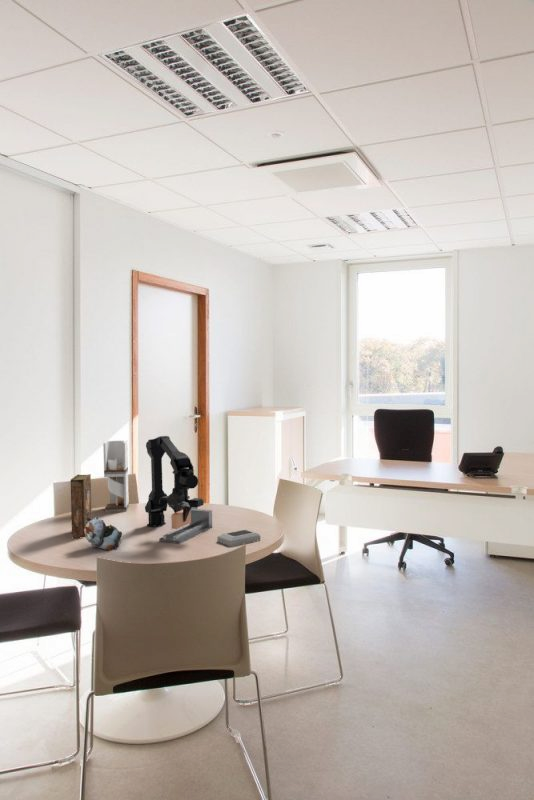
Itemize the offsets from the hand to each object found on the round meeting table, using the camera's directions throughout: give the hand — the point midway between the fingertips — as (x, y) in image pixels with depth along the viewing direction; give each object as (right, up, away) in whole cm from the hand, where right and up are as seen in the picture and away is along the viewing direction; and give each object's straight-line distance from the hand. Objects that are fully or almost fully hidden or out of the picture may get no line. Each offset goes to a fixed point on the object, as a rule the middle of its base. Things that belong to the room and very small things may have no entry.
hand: (181, 521), depth 268 cm
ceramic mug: (-4, -5, +43) cm, 43 cm away
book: (-45, -7, +7) cm, 46 cm away
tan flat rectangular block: (0, -2, 0) cm, 2 cm away
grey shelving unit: (-41, -5, +57) cm, 70 cm away
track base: (+2, -6, +4) cm, 7 cm away
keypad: (+25, -7, -8) cm, 27 cm away
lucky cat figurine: (-29, -8, -15) cm, 34 cm away
